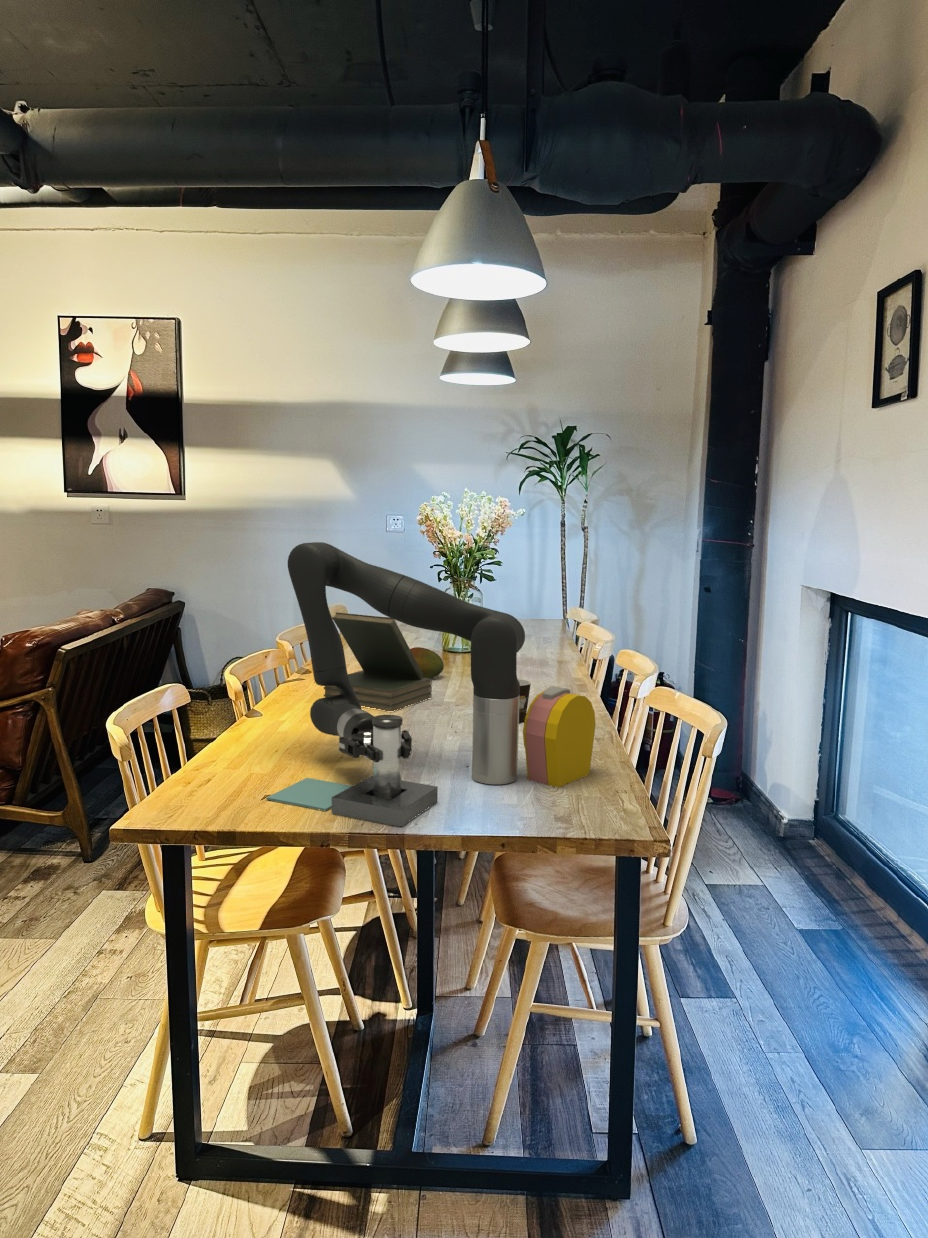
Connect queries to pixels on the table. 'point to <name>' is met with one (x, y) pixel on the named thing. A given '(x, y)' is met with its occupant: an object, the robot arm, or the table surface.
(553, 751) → the yellow and pink lunchbox
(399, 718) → the tumbler with black lid
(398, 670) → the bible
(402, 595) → the robot arm
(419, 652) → the fruit
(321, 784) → the rubber mat
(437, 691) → the table surface
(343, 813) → the collar block
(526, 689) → the coffee mug
